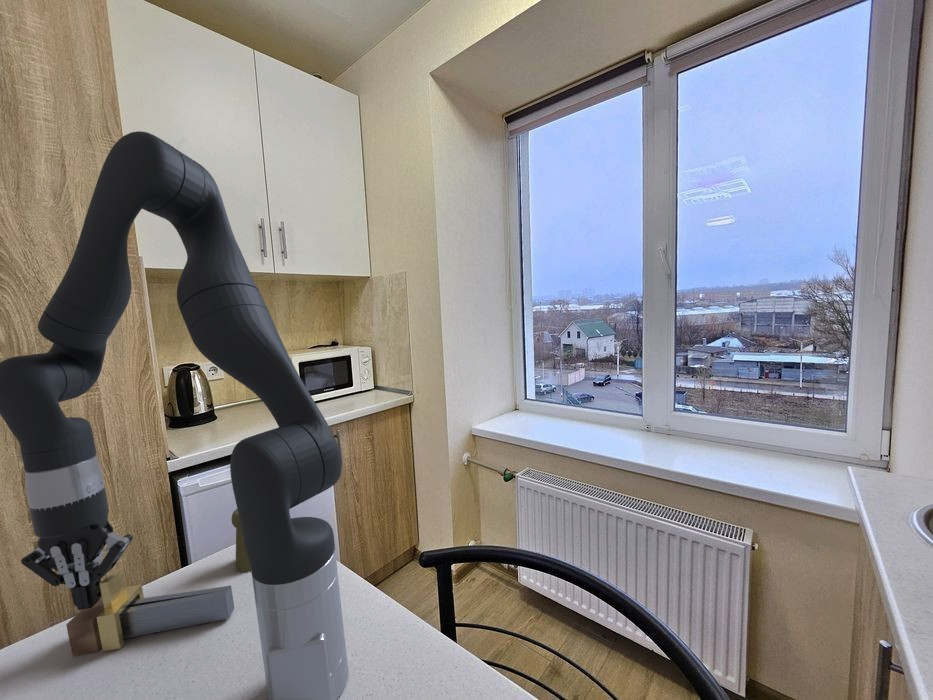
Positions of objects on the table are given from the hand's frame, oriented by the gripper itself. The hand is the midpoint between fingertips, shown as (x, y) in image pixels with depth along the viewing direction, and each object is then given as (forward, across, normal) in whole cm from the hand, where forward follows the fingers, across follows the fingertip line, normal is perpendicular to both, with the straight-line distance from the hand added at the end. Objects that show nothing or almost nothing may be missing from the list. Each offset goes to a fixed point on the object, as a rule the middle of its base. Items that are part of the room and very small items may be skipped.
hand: (89, 604), depth 57 cm
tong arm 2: (+5, -11, -1) cm, 12 cm away
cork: (+6, -17, -14) cm, 23 cm away
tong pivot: (+6, 0, 0) cm, 6 cm away
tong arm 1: (+5, -11, 0) cm, 12 cm away
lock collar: (+6, -4, 0) cm, 7 cm away
